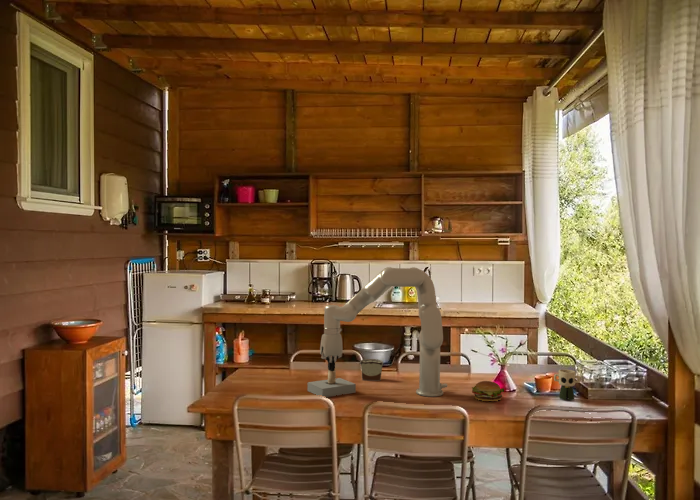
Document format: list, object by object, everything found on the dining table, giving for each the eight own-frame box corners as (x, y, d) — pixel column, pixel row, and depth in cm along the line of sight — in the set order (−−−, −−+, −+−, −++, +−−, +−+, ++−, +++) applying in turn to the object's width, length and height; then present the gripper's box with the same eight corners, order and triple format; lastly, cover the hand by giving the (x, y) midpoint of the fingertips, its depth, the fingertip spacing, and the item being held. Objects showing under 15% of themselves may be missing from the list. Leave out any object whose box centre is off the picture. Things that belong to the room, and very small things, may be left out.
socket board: (339, 386, 269) (339, 377, 269) (355, 392, 257) (355, 383, 257) (307, 390, 259) (307, 382, 259) (322, 397, 248) (322, 388, 248)
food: (465, 399, 248) (465, 381, 248) (481, 393, 258) (481, 376, 258) (493, 405, 238) (493, 387, 238) (508, 399, 249) (508, 381, 249)
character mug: (554, 400, 248) (554, 371, 248) (553, 396, 254) (553, 368, 254) (580, 402, 244) (580, 373, 244) (578, 398, 251) (579, 370, 251)
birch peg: (332, 390, 261) (333, 369, 261) (337, 392, 258) (337, 370, 258) (326, 391, 259) (326, 370, 259) (330, 393, 256) (330, 371, 256)
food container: (383, 378, 287) (384, 359, 287) (383, 380, 281) (383, 361, 281) (360, 377, 288) (360, 358, 288) (359, 380, 282) (359, 360, 282)
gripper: (341, 329, 266) (340, 367, 266) (314, 331, 257) (313, 370, 257) (349, 331, 259) (349, 370, 259) (322, 333, 251) (321, 373, 251)
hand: (331, 370), depth 258 cm, fingers closed
